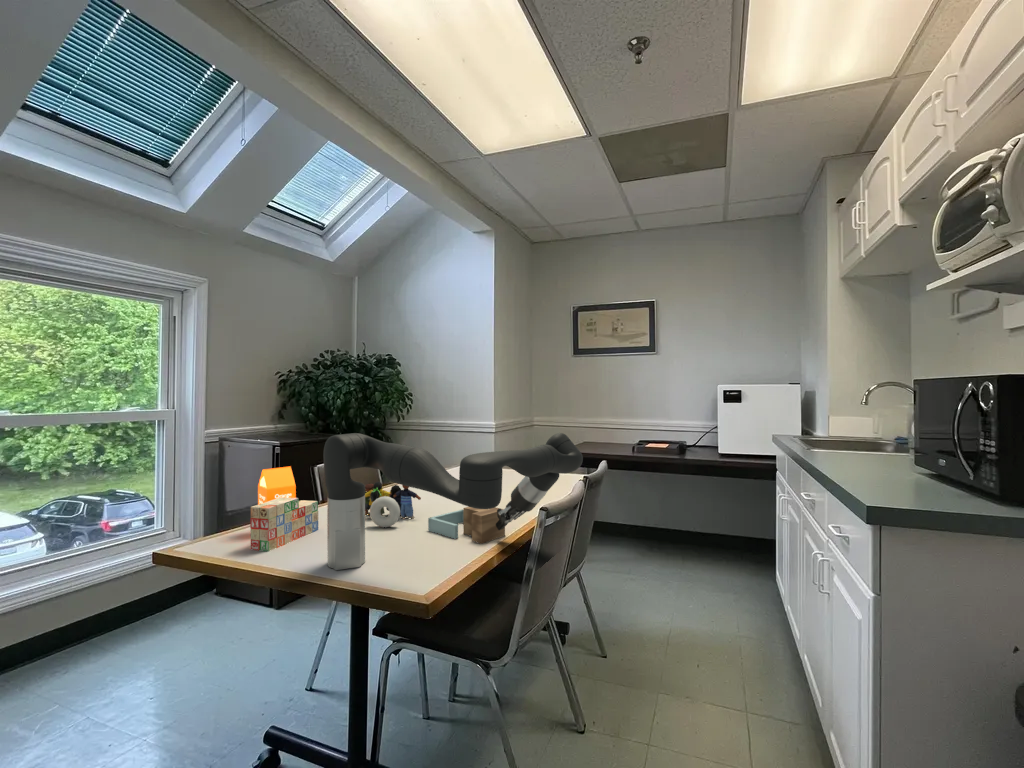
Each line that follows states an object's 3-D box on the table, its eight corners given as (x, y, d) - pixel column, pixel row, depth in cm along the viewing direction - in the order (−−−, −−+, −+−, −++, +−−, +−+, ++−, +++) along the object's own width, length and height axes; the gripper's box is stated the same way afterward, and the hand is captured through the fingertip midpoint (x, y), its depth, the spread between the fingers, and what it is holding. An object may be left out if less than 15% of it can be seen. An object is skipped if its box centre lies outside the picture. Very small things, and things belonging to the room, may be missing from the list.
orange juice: (296, 530, 154) (296, 467, 155) (266, 537, 148) (266, 471, 148) (286, 526, 160) (286, 464, 160) (257, 531, 154) (257, 468, 154)
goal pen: (489, 528, 157) (489, 516, 157) (455, 538, 146) (455, 525, 146) (462, 521, 165) (462, 509, 165) (428, 530, 154) (428, 517, 154)
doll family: (424, 513, 176) (424, 476, 176) (420, 520, 167) (420, 481, 167) (359, 513, 175) (359, 476, 175) (352, 520, 166) (351, 481, 166)
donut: (401, 526, 159) (401, 495, 159) (398, 529, 156) (398, 497, 156) (372, 525, 161) (372, 494, 161) (368, 528, 157) (367, 497, 157)
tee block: (505, 535, 149) (504, 509, 149) (481, 543, 142) (481, 516, 142) (479, 528, 156) (479, 503, 156) (456, 536, 149) (456, 509, 149)
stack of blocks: (302, 528, 157) (302, 490, 157) (318, 530, 156) (318, 491, 156) (250, 550, 137) (250, 506, 137) (268, 552, 135) (268, 507, 135)
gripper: (522, 506, 130) (489, 543, 138) (552, 498, 139) (520, 532, 147) (507, 484, 133) (476, 521, 141) (537, 477, 143) (507, 512, 151)
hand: (498, 527), depth 144 cm, fingers closed
